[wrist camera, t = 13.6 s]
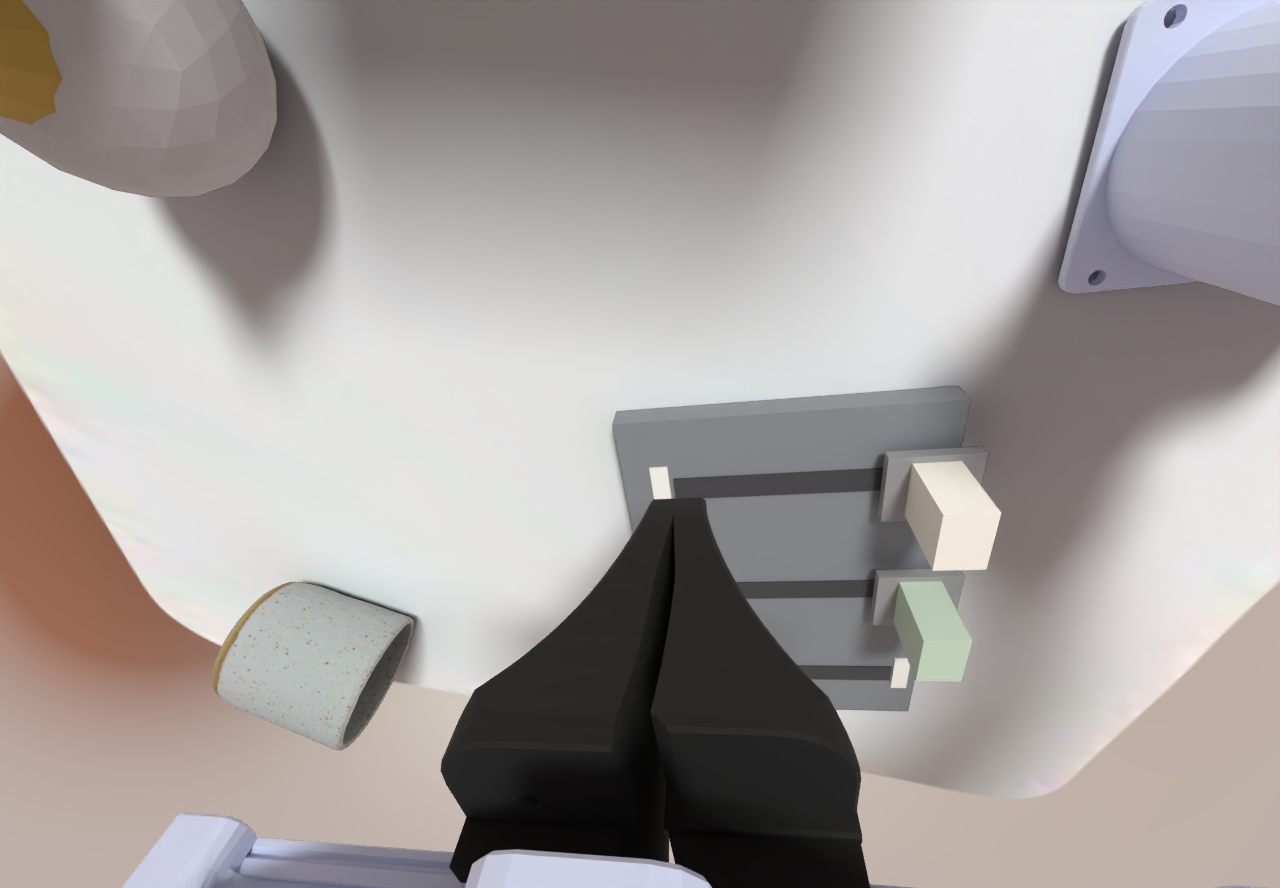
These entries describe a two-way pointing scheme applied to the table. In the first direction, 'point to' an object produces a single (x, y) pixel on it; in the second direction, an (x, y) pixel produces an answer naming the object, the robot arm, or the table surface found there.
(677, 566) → the robot arm
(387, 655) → the ceramic mug
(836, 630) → the panel
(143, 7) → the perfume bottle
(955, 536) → the paddle cream
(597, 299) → the table surface
